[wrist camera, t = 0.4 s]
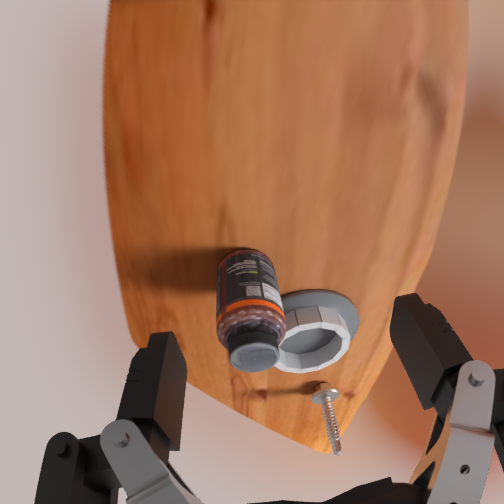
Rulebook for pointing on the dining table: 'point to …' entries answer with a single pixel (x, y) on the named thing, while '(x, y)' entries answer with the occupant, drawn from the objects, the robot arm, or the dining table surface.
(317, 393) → the screw
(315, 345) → the bottle coaster
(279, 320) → the supplement bottle
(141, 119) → the dining table surface
